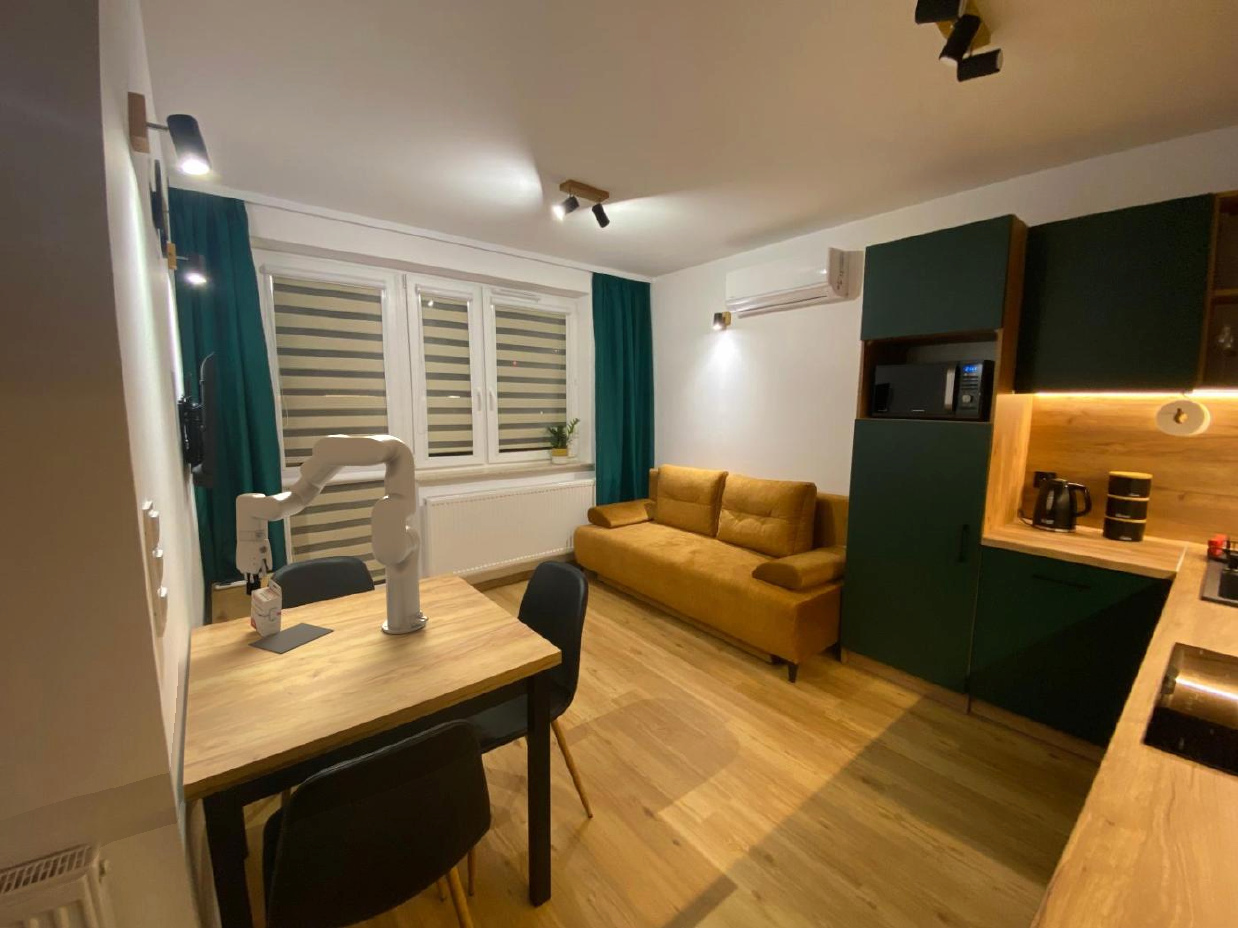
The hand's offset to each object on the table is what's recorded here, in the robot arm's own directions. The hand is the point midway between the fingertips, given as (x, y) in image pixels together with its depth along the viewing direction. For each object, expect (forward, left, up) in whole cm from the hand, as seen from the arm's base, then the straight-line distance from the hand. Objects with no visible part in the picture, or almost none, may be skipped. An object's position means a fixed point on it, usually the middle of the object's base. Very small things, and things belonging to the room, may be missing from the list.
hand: (253, 593), depth 151 cm
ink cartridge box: (-4, 0, -11) cm, 11 cm away
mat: (-16, -1, -11) cm, 19 cm away
